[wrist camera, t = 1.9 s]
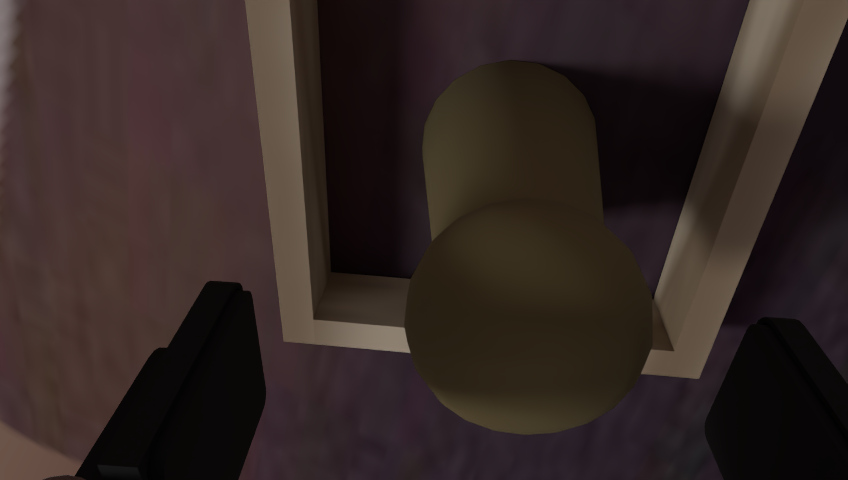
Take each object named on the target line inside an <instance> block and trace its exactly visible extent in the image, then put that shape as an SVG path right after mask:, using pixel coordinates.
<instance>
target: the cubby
mask: <svg viewBox="0 0 848 480" xmlns="http://www.w3.org/2000/svg"><path fill="white" fill-rule="evenodd" d="M245 3H246V12H247V21H248V30H249V39H250V47H251V56H252V65H253V74H254V83H255V92H256V100H257V109H258V118H259V127H260V136H261V145H262V154H263V162H264V171H265V180H266V189H267V198H268V207H269V215H270V224H271V233H272V242H273V251H274V260H275V269H276V277H277V286H278V295H279V304H280V313H281V322H282V330H283V339H284V341H286V342H297V343H308V344H319V345H330V346H341V347H352V348H363V349H374V350H385V351H396V352H407V353H410V349H409V346H408V343H407V338H406V333H405V328H404V321H405V311H406V302H407V294H408V289H409V284H410V279H406V278H394V277H382V276H371V275H359V274H347V273H335V272H331V262H330V243H329V223H328V203H327V184H326V164H325V144H324V125H323V105H322V86H321V66H320V46H319V27H318V7H317V0H245ZM847 19H848V0H750V1H749V4H748V8H747V11H746V14H745V17H744V20H743V23H742V26H741V29H740V32H739V35H738V39H737V42H736V45H735V48H734V51H733V54H732V57H731V60H730V63H729V66H728V70H727V73H726V76H725V79H724V82H723V85H722V88H721V91H720V94H719V97H718V101H717V104H716V107H715V110H714V113H713V116H712V119H711V122H710V125H709V128H708V132H707V135H706V138H705V141H704V144H703V147H702V150H701V153H700V156H699V159H698V163H697V166H696V169H695V172H694V175H693V178H692V181H691V184H690V187H689V190H688V193H687V197H686V200H685V203H684V206H683V209H682V212H681V215H680V218H679V221H678V224H677V228H676V231H675V234H674V237H673V240H672V243H671V246H670V249H669V252H668V255H667V259H666V262H665V265H664V268H663V271H662V274H661V277H660V280H659V283H658V286H657V290H656V293H655V296H654V299H652V311H653V346H652V349H651V351H650V353H649V356H648V358H647V361H646V363H645V365H644V368H643V370H642V372H641V374H651V375H662V376H673V377H684V378H695V379H699V377H700V374H701V372H702V369H703V367H704V365H705V362H706V360H707V357H708V355H709V353H710V350H711V348H712V345H713V343H714V340H715V338H716V336H717V333H718V331H719V328H720V326H721V324H722V321H723V319H724V316H725V314H726V311H727V309H728V307H729V304H730V302H731V299H732V297H733V295H734V292H735V290H736V287H737V285H738V282H739V280H740V278H741V275H742V273H743V270H744V268H745V266H746V263H747V261H748V258H749V256H750V253H751V251H752V249H753V246H754V244H755V241H756V239H757V237H758V234H759V232H760V229H761V227H762V224H763V222H764V220H765V217H766V215H767V212H768V210H769V208H770V205H771V203H772V200H773V198H774V195H775V193H776V191H777V188H778V186H779V183H780V181H781V179H782V176H783V174H784V171H785V169H786V166H787V164H788V162H789V159H790V157H791V154H792V152H793V150H794V147H795V145H796V142H797V140H798V137H799V135H800V133H801V130H802V128H803V125H804V123H805V121H806V118H807V116H808V113H809V111H810V108H811V106H812V104H813V101H814V99H815V96H816V94H817V92H818V89H819V87H820V84H821V82H822V79H823V77H824V75H825V72H826V70H827V67H828V65H829V63H830V60H831V58H832V55H833V53H834V50H835V48H836V46H837V43H838V41H839V38H840V36H841V34H842V31H843V29H844V26H845V24H846V21H847Z"/></svg>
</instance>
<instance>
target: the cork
mask: <svg viewBox="0 0 848 480" xmlns="http://www.w3.org/2000/svg"><path fill="white" fill-rule="evenodd" d="M422 154H423V163H424V172H425V181H426V191H427V200H428V209H429V218H430V227H431V236H432V242H431V244H430V245H429V247H428V248H427V250H426V251H425V253H424V255H423V257H422V259H421V261H420V262H419V264H418V266H417V268H416V270H415V272H414V274H413V275H412V277H411V279H410V284H409V289H408V294H407V302H406V311H405V321H404V328H405V333H406V338H407V343H408V346H409V349H410V353H411V356H412V359H413V363H414V366H415V369H416V371H417V372H418V373H419V374H420V376H421V377H422V378H423V380H424V381H425V382H426V384H427V385H428V386H429V388H430V389H431V390H432V391H433V393H434V394H435V395H436V397H437V398H438V399H439V400H440V402H441V403H442V404H443V405H445V406H446V407H447V408H449V409H450V410H452V411H453V412H455V413H456V414H458V415H459V416H460V417H462V418H463V419H465V420H467V421H469V422H472V423H475V424H478V425H480V426H483V427H486V428H488V429H491V430H494V431H501V432H508V433H516V434H523V435H529V434H542V433H555V432H560V431H563V430H567V429H570V428H573V427H577V426H580V425H583V424H587V423H589V422H591V421H592V420H594V419H596V418H597V417H599V416H601V415H603V414H604V413H606V412H608V411H609V410H611V409H613V408H614V407H615V406H616V405H617V404H618V403H619V402H620V401H621V400H622V399H623V398H624V397H625V395H626V394H627V393H628V392H629V391H630V390H631V389H632V388H633V387H634V385H635V383H636V382H637V380H638V378H639V376H640V374H641V372H642V370H643V368H644V365H645V363H646V361H647V358H648V356H649V353H650V351H651V349H652V346H653V311H652V295H651V293H650V290H649V288H648V286H647V283H646V281H645V279H644V277H643V275H642V273H641V270H640V268H639V266H638V264H637V262H636V260H635V258H634V256H633V254H632V251H631V250H630V249H629V248H628V247H627V246H626V245H625V244H624V243H623V242H622V241H621V240H619V239H618V238H617V237H616V236H615V235H614V234H613V233H612V232H611V231H610V230H609V229H608V228H607V227H605V226H604V215H603V204H602V193H601V181H600V170H599V159H598V147H597V136H596V125H595V119H594V116H593V114H592V112H591V110H590V107H589V105H588V103H587V101H586V99H585V96H584V95H583V94H582V93H581V92H580V91H579V90H578V89H577V88H576V87H575V86H574V85H573V84H572V83H571V82H570V81H569V80H568V79H567V78H566V77H565V76H564V75H562V74H559V73H557V72H555V71H553V70H551V69H549V68H547V67H545V66H543V65H541V64H538V63H530V62H521V61H513V60H508V61H503V62H497V63H492V64H487V65H482V66H479V67H477V68H476V69H474V70H472V71H470V72H468V73H466V74H465V75H463V76H461V77H459V78H457V79H455V80H454V81H453V82H452V84H451V85H450V86H449V87H448V88H447V89H446V90H445V91H444V92H443V93H442V94H441V95H440V96H439V97H438V98H437V99H436V101H435V103H434V105H433V107H432V109H431V112H430V114H429V116H428V118H427V120H426V122H425V125H424V135H423V144H422Z"/></svg>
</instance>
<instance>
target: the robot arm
mask: <svg viewBox="0 0 848 480" xmlns="http://www.w3.org/2000/svg"><path fill="white" fill-rule="evenodd" d="M265 399H266V386H265V380H264V373H263V366H262V360H261V353H260V346H259V339H258V333H257V326H256V319H255V312H254V306H253V299H252V294H251V292H250V291H243V288H242V286H241V284H240V283H236V282H221V281H209V282H207V283H206V284H205V286H204V287H203V289H202V291H201V292H200V294H199V296H198V297H197V299H196V301H195V302H194V304H193V306H192V307H191V309H190V311H189V312H188V314H187V316H186V317H185V319H184V321H183V322H182V324H181V326H180V327H179V329H178V331H177V332H176V334H175V336H174V337H173V339H172V341H171V342H170V344H169V346H168V347H167V348H158V349H156V350H155V351H154V352H153V353H152V354H151V355H150V357H149V358H148V360H147V361H146V363H145V364H144V366H143V368H142V369H141V371H140V372H139V374H138V376H137V377H136V379H135V380H134V382H133V384H132V385H131V387H130V388H129V390H128V392H127V393H126V395H125V396H124V398H123V400H122V401H121V403H120V404H119V406H118V408H117V409H116V411H115V412H114V414H113V416H112V417H111V419H110V420H109V422H108V424H107V425H106V427H105V428H104V430H103V432H102V433H101V435H100V436H99V438H98V440H97V441H96V443H95V444H94V446H93V448H92V449H91V451H90V452H89V454H88V456H87V457H86V459H85V460H84V462H83V463H82V465H81V467H80V468H79V470H78V471H77V473H76V475H75V476H70V475H63V476H54V477H49V478H46V479H43V480H238V479H239V476H240V473H241V470H242V468H243V465H244V462H245V459H246V456H247V454H248V451H249V448H250V445H251V442H252V440H253V437H254V434H255V431H256V428H257V426H258V423H259V420H260V417H261V414H262V412H263V409H264V405H265ZM705 435H706V439H707V441H708V444H709V446H710V448H711V451H712V453H713V455H714V458H715V460H716V462H717V465H718V467H719V469H720V472H721V474H722V476H723V479H724V480H848V384H847V383H846V381H845V380H844V379H843V377H842V376H841V375H840V373H839V372H838V371H837V369H836V368H835V367H834V365H833V364H832V363H831V361H830V360H829V358H828V357H827V356H826V354H825V353H824V352H823V350H822V349H821V348H820V346H819V345H818V344H817V342H816V341H815V340H814V338H813V337H812V336H811V334H810V333H809V332H808V330H807V329H806V328H805V326H804V325H803V324H802V323H801V322H800V321H799V320H796V319H786V318H771V317H764V318H761V319H760V320H758V322H757V323H756V324H752V325H750V326H749V327H748V329H747V330H746V333H745V335H744V337H743V339H742V341H741V344H740V346H739V348H738V350H737V352H736V355H735V357H734V359H733V361H732V363H731V366H730V368H729V370H728V372H727V374H726V377H725V379H724V381H723V383H722V385H721V387H720V390H719V392H718V394H717V396H716V398H715V401H714V403H713V405H712V407H711V409H710V412H709V414H708V416H707V418H706V421H705Z"/></svg>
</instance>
